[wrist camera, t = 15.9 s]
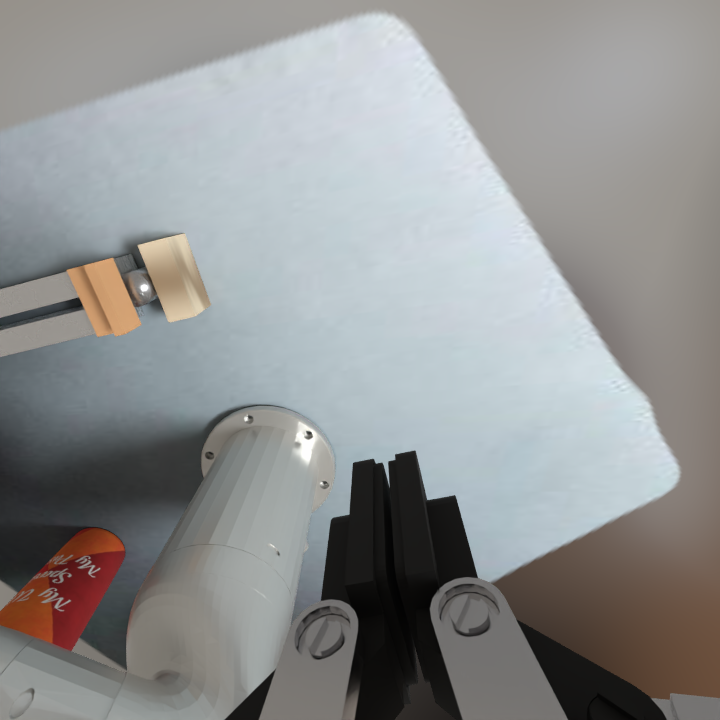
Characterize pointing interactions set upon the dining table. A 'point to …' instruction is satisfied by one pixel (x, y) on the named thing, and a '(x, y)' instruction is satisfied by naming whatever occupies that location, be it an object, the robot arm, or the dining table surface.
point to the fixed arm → (47, 330)
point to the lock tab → (104, 297)
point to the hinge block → (175, 277)
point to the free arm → (63, 289)
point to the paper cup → (66, 589)
